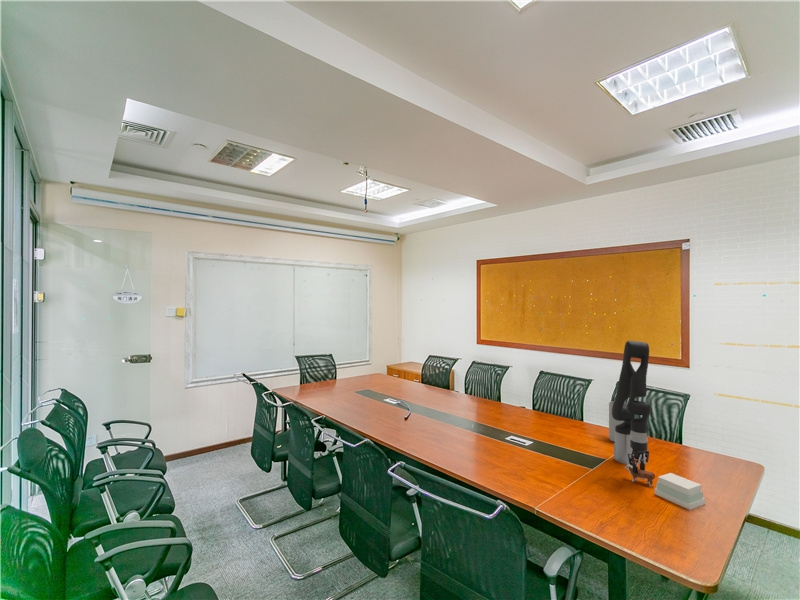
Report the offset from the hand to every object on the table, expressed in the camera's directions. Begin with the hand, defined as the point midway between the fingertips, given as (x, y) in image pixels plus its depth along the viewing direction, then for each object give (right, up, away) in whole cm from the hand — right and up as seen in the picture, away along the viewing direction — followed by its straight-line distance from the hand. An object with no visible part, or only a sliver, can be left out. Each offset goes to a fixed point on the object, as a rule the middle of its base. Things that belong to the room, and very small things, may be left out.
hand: (638, 472), depth 188 cm
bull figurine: (0, -6, 0) cm, 6 cm away
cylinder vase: (+25, -6, +57) cm, 62 cm away
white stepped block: (+8, -5, -16) cm, 19 cm away
